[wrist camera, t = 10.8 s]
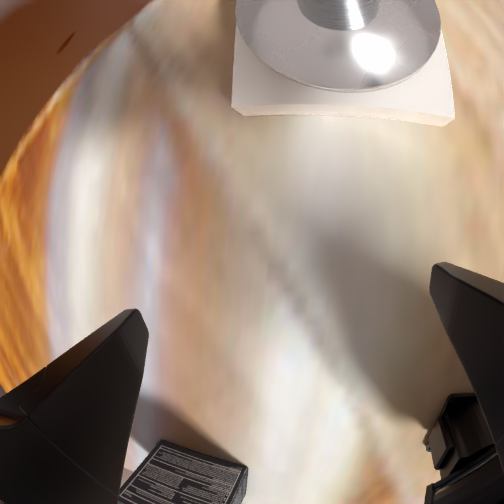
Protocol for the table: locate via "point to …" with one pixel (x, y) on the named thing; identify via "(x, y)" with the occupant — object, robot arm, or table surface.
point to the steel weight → (339, 13)
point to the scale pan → (341, 44)
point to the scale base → (343, 104)
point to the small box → (184, 479)
